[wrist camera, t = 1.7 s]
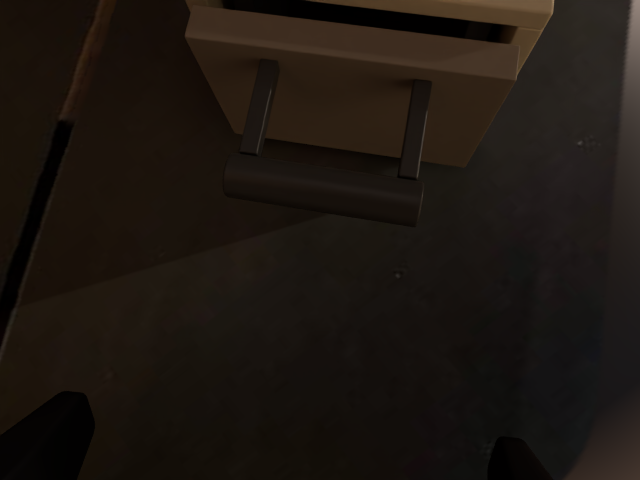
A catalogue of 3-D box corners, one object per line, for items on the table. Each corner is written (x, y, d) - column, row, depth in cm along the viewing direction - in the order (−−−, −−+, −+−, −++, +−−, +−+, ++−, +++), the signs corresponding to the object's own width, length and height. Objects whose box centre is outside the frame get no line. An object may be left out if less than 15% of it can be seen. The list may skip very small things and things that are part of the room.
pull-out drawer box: (451, 273, 22) (499, 231, 14) (211, 232, 23) (146, 175, 15) (496, -72, 25) (553, -241, 18) (287, -94, 26) (263, -262, 19)
